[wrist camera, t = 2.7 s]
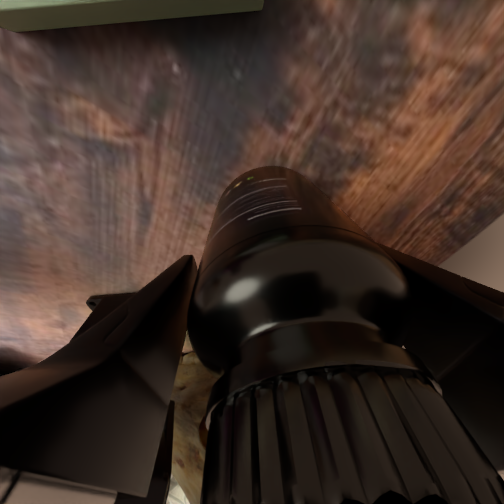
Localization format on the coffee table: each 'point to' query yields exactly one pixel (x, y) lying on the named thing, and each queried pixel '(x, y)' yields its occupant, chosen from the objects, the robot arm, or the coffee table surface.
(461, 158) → the coffee table surface
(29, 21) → the scale
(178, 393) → the brown pointed piece
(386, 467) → the supplement bottle
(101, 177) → the coffee table surface
